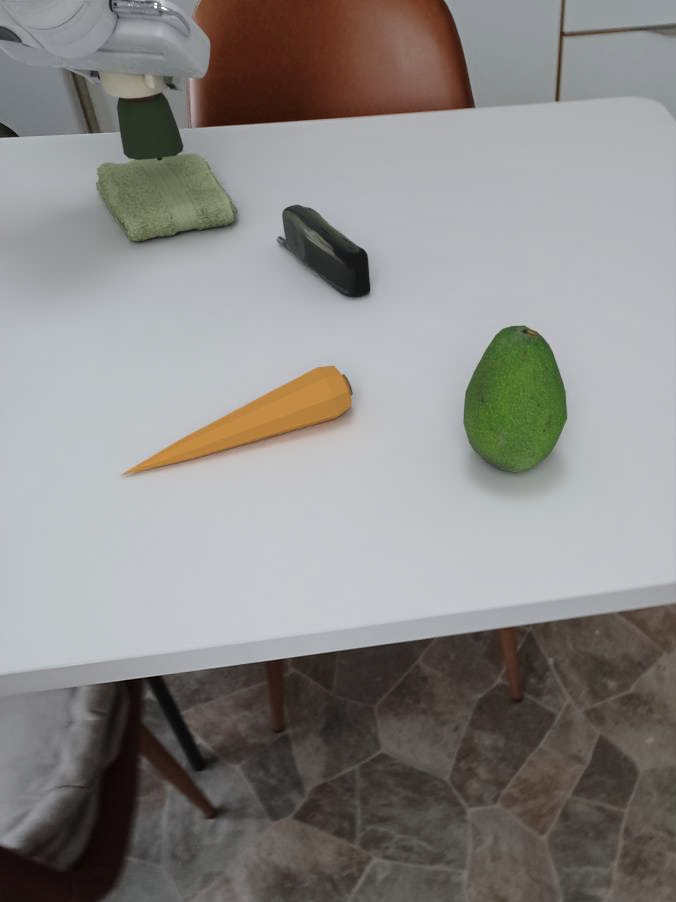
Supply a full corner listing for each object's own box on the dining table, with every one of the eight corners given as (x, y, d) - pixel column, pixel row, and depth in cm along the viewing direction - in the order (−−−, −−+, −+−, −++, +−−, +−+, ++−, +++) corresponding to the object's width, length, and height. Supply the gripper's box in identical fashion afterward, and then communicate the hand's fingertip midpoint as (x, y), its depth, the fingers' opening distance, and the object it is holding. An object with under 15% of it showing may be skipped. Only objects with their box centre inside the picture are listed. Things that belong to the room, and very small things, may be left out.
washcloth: (204, 166, 115) (198, 138, 113) (245, 228, 105) (239, 198, 102) (93, 186, 112) (85, 157, 109) (123, 252, 101) (115, 221, 99)
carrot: (348, 406, 84) (330, 355, 82) (364, 414, 80) (346, 362, 78) (128, 494, 79) (103, 443, 77) (135, 508, 75) (109, 455, 73)
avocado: (534, 504, 74) (542, 368, 65) (446, 472, 77) (443, 337, 68) (578, 449, 79) (591, 315, 70) (494, 421, 81) (497, 288, 72)
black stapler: (373, 247, 92) (289, 190, 99) (347, 256, 91) (264, 198, 98) (376, 295, 96) (295, 237, 103) (351, 305, 94) (271, 245, 102)
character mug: (205, 165, 102) (177, 26, 93) (141, 181, 100) (105, 39, 90) (167, 132, 108) (137, -2, 99) (106, 146, 106) (68, 10, 96)
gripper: (177, -32, 84) (239, 56, 98) (-35, -45, 87) (54, 42, 100) (168, 42, 84) (231, 119, 98) (-43, 27, 87) (47, 104, 101)
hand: (140, 80), depth 99 cm, fingers closed on character mug, 7 cm apart
